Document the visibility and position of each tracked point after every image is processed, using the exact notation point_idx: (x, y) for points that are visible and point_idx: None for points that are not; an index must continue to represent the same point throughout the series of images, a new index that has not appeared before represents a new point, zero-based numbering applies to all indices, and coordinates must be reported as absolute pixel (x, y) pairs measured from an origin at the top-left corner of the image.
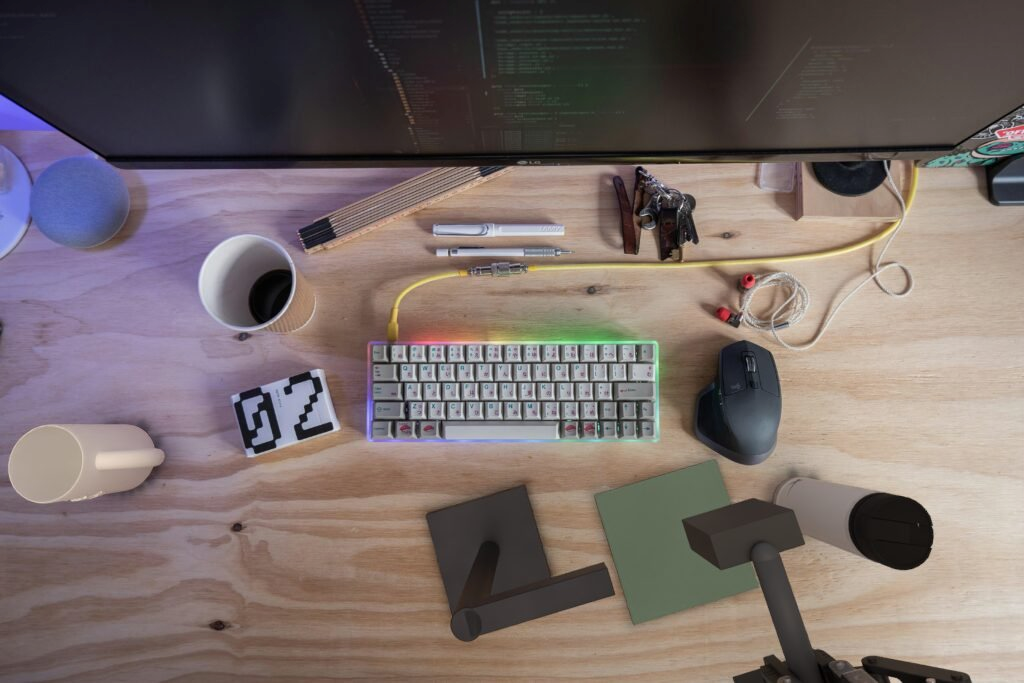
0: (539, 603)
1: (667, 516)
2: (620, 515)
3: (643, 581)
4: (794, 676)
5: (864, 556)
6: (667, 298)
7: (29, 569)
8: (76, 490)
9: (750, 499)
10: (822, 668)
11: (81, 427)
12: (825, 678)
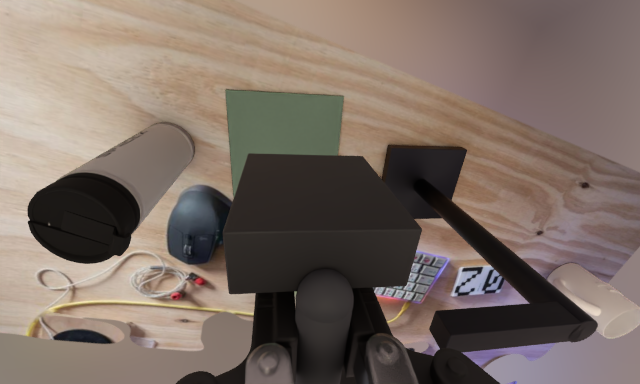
0: (518, 338)
1: None
2: None
3: (322, 127)
4: (348, 376)
5: (125, 187)
6: (237, 295)
7: (637, 238)
8: (620, 308)
9: None
10: (294, 378)
11: None
12: (295, 367)
